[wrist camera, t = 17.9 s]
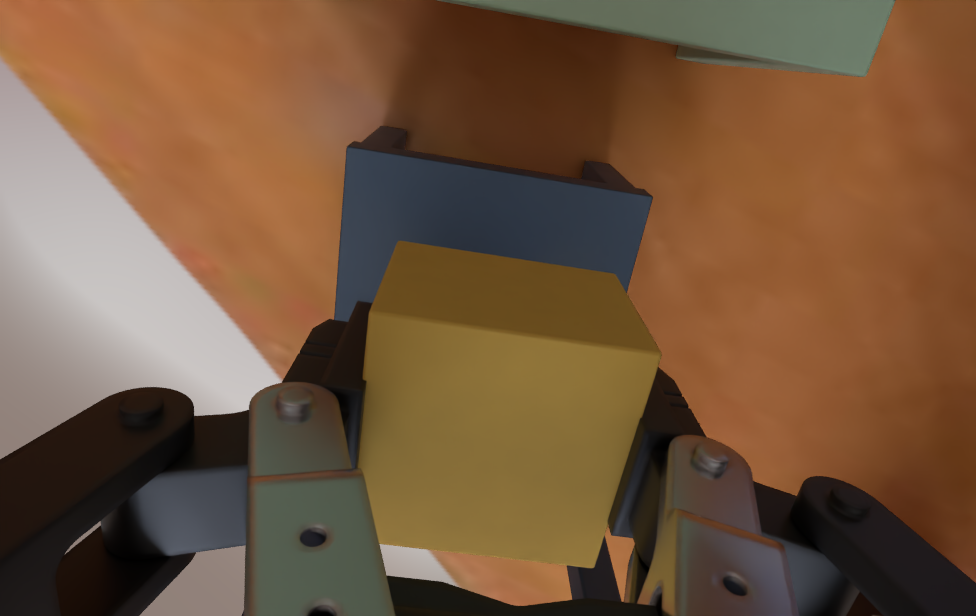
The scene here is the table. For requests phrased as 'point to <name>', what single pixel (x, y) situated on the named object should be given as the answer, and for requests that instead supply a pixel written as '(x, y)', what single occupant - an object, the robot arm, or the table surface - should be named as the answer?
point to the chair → (485, 233)
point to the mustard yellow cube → (500, 404)
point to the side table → (731, 28)
